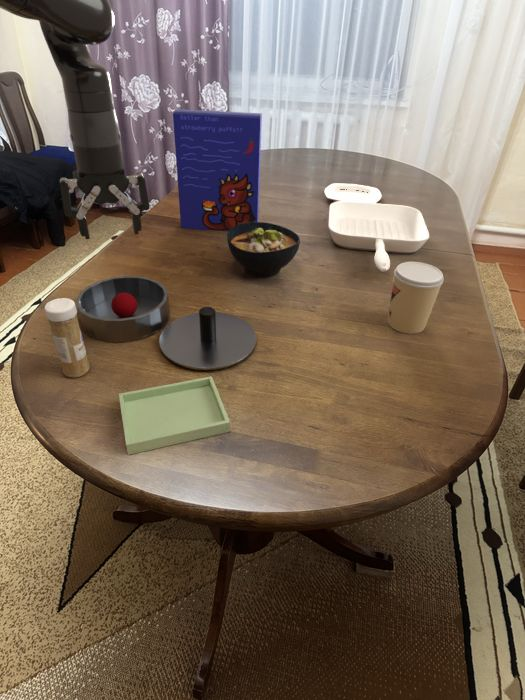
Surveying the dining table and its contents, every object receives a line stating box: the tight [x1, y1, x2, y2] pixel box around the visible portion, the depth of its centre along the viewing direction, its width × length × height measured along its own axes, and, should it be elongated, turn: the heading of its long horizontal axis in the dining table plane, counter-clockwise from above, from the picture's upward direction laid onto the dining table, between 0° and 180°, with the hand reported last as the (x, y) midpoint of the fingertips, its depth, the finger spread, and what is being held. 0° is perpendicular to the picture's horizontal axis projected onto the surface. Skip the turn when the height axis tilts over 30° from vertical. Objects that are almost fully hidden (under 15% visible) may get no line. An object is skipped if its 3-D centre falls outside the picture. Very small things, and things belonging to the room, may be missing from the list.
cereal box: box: [172, 108, 263, 232], centre depth 126 cm, size 22×6×30 cm, turn 87°
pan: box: [327, 201, 430, 272], centre depth 126 cm, size 27×44×5 cm, turn 172°
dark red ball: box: [111, 293, 137, 318], centre depth 93 cm, size 5×5×5 cm
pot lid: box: [158, 306, 257, 371], centre depth 87 cm, size 18×18×7 cm
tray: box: [118, 375, 231, 456], centre depth 72 cm, size 15×11×2 cm
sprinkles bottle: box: [44, 297, 91, 378], centre depth 77 cm, size 5×5×13 cm
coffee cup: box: [387, 261, 445, 335], centre depth 94 cm, size 9×9×12 cm
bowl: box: [226, 221, 301, 278], centre depth 111 cm, size 17×17×10 cm
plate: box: [324, 182, 383, 203], centre depth 159 cm, size 19×19×2 cm
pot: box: [75, 275, 171, 344], centre depth 94 cm, size 17×17×5 cm
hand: (112, 235), depth 85 cm, fingers open, 8 cm apart
